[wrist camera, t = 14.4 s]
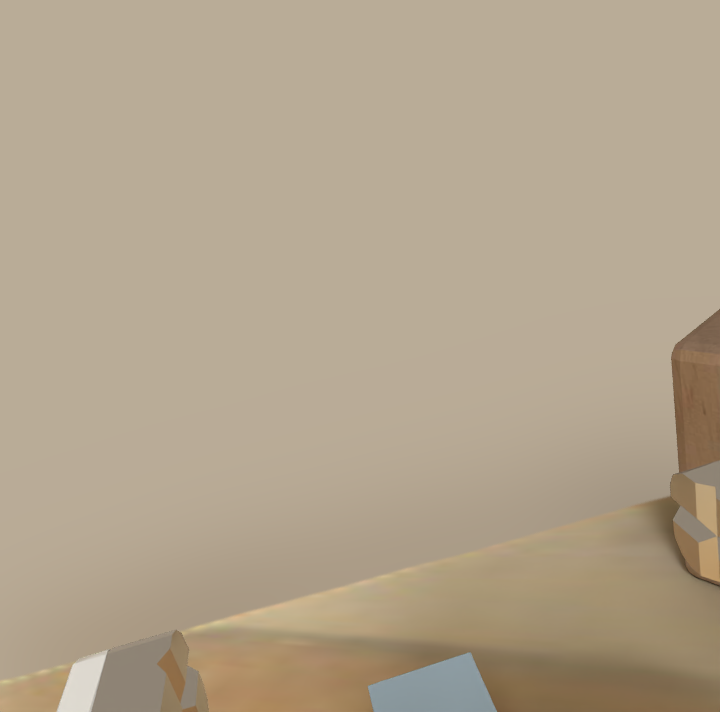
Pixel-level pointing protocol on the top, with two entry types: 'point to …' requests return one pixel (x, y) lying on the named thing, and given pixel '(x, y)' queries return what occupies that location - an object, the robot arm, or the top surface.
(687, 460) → the block
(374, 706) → the post
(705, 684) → the top surface
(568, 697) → the top surface
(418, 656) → the top surface
